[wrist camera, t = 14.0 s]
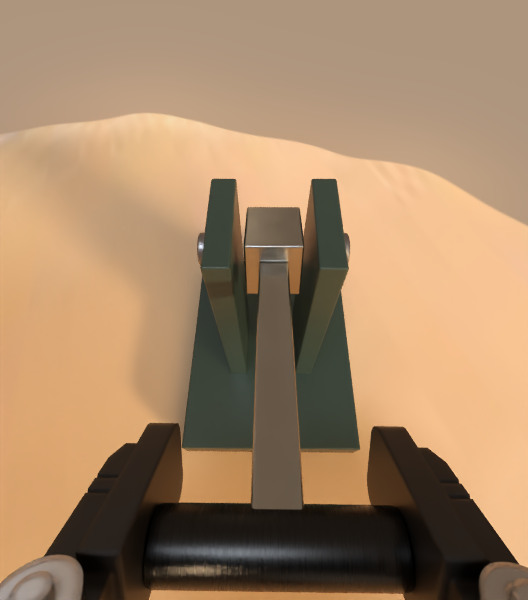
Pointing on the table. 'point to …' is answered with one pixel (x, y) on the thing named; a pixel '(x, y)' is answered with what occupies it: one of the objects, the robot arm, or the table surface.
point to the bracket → (243, 331)
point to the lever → (277, 474)
